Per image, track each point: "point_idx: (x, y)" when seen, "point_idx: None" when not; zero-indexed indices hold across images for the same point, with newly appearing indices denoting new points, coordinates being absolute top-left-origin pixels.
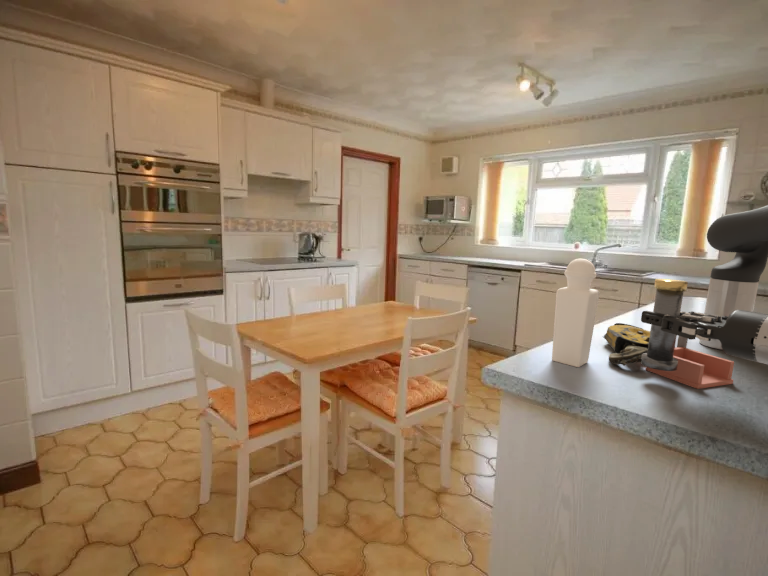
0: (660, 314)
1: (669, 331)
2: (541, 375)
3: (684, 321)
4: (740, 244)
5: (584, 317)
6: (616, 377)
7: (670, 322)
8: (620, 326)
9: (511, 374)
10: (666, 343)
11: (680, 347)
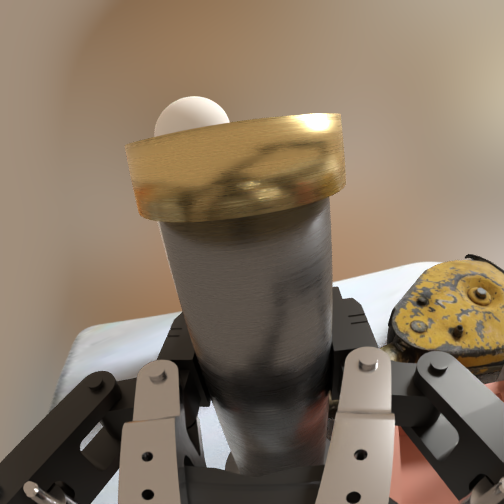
0: (177, 348)
1: (89, 450)
2: (102, 369)
3: (25, 459)
4: None
5: (170, 269)
6: (219, 439)
7: (104, 420)
8: (459, 266)
9: (77, 349)
10: (240, 461)
11: (497, 384)
